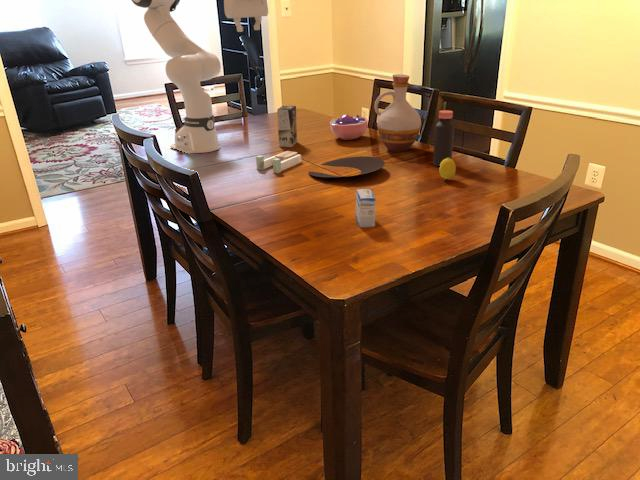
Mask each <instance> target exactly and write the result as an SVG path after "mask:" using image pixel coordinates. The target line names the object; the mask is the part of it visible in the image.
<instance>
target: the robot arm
mask: <svg viewBox="0 0 640 480" xmlns="http://www.w3.org/2000/svg"><path fill="white" fill-rule="evenodd" d="M131 2H132V3H133V4H134V5H135V6H137V7H140V8H145V9H146V8H147V10H146V11H145V12H144V16H143V21H144V24H145V25H146V28H147V29H148V31H149V33H150V34H151V36H152V37H153V38H154V40H155V42H156V43H157V44H158V45H159V46H160V48H161V49H162V50H163V51H164V53H165V54H166V56H169V57H170V59H168V60H167V62H166V64H165V74H166V76H167V79H168V80H169V81H170V82H171V83H172V84H173V85H175V86H176V87H177V89H178V90H179V91H180V94H181V96H182V99H183V103H184V110H185V117H182V118H181V119H182V120H181V121H182V122H183V123H184V124H183V126H182V127H181V128H180V129H179V130H178V131H177V132H176V133H175V135H174V143H173V144H171V145H170V146H169V148H170V147H171V148H174V149H177V150H179V151H178V152H180V151H182V152H181V153H184V152H185V153H184V154H187V153H188V155H189V154H199V153H200V154H201V153H203V154H204V153H210V152H214V151H217V150H219V149H221V146H220V144H221V143H220V141H219V139H218V138H219V137H218V133H217V129H216V127H215V123H216V120H215V115H214V113H213V104H212V97H211V96H210V95H211V94H209V93H208V92H205V91H204V90H203V88H202V85H201V82H204V81H209V80H212V79H213V78H215V77H217V76H219V74H220V72H221V69H222V68H221V62H220V59H219V57H218V56H217V55H216V54H215V53H212V52H209V51H207V50H205V49H203V48H202V47H201V46H199V45H198V44H197V43H196V42H194V41H193V40H191V39H190V37H188V35H187V34H185V32H184V31H183V29H182V28H181V27H180V25H179V24H178V23H177V22H176V21H175V19H174V18H173V17H172V15H171V13H172V12H174V11H175V10H176V8H177V6H178V5H179V3H180V2H181V0H131ZM268 6H269V5H268V0H223V8H224V9H223V11H224V15H225V17H226V18H227V19H233V23H234V24H235V27H236V32H238V33H241V32H244V26H242V24H241V21H242V18H254V20H255V23H254V24H253V30H254V31H260V30H261V23H262V19H263V17H268V15H269V7H268ZM171 148H170V149H171ZM174 149H173V150H174ZM177 150H176V151H177Z"/></svg>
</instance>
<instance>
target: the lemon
mask: <svg viewBox="0 0 640 480" xmlns="http://www.w3.org/2000/svg"><path fill="white" fill-rule="evenodd" d="M438 168H439V169H438V172H439V175H440V176H441V178H442V179H444V180H445V179H448V180H449V179H451V178H452V177H454V176H455V174H456V170H457V166H456V163H455V161H454V160H453V158H452V159H450V158H446V159H444V160H443V161H442V162H441V163H440V167H438Z"/></svg>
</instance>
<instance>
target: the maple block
mask: <svg viewBox="0 0 640 480" xmlns="http://www.w3.org/2000/svg"><path fill="white" fill-rule="evenodd" d="M296 155H298V152H297V151H290V150H286V151H283V152H280V153H278V154H276V155H274V156H275V158H278V159H281V161H284V160H286V159H289V158H291V157H294V156H296Z"/></svg>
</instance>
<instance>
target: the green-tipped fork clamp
mask: <svg viewBox="0 0 640 480" xmlns="http://www.w3.org/2000/svg"><path fill="white" fill-rule="evenodd" d="M255 160H256V161H255V162H256V170H257V171H263V170H265V169H267V168H271V167H273V169H272V170H273V174H279V173H282V171H285V170H287V169H289V168H292V167H294V166H297V165H298V164H302V154H298V155H296V156H294V157H291V158H289V159H286V160H284V161H281V159H278V158H275V155H273V156H270V157H268V158H265V159H264V155H257V156H255Z"/></svg>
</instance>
